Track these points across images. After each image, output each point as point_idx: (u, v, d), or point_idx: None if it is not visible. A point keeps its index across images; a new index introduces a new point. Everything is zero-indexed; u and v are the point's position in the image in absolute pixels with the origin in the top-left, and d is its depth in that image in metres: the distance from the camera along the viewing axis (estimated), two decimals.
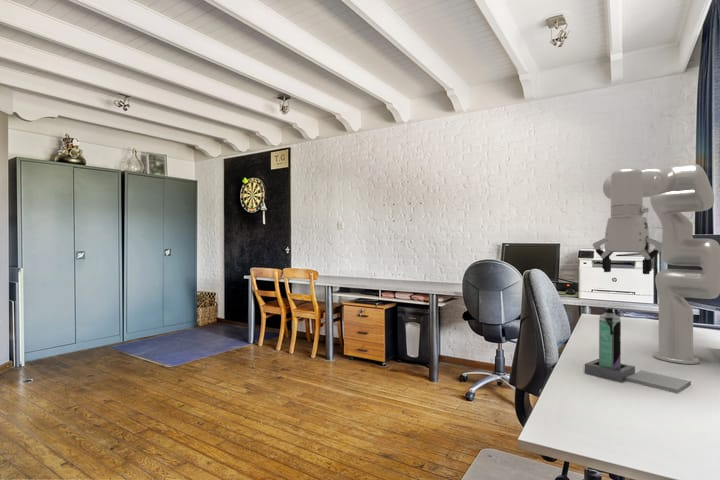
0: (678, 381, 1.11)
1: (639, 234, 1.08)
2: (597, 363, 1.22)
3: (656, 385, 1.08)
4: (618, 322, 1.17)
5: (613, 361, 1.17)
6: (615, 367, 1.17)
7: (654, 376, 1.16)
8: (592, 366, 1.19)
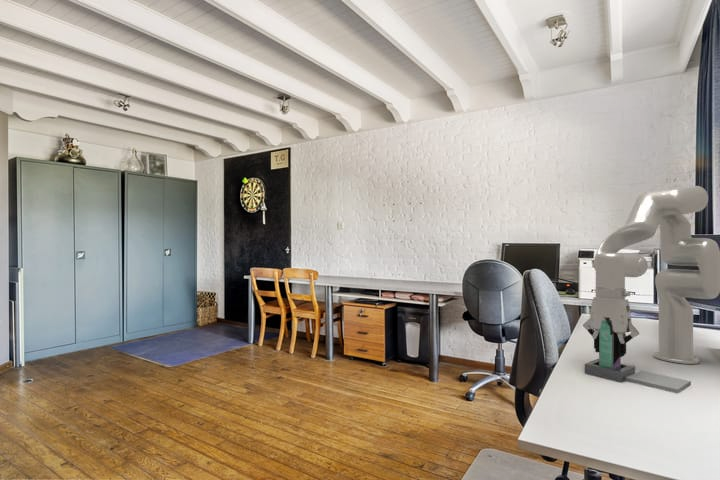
0: (678, 381, 1.11)
1: (621, 317, 1.15)
2: (597, 363, 1.22)
3: (656, 385, 1.08)
4: None
5: (613, 361, 1.17)
6: (615, 367, 1.17)
7: (654, 376, 1.16)
8: (592, 366, 1.19)
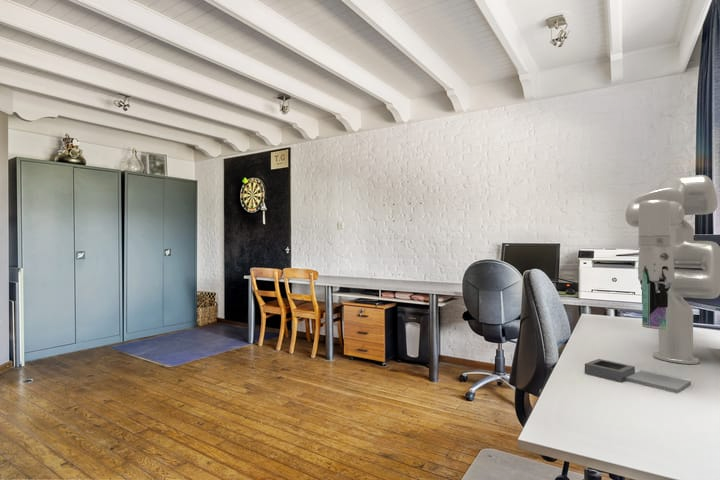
0: (678, 381, 1.11)
1: (654, 265, 1.11)
2: (597, 363, 1.22)
3: (656, 385, 1.08)
4: None
5: (650, 310, 1.13)
6: (652, 318, 1.12)
7: (654, 376, 1.16)
8: (592, 366, 1.19)
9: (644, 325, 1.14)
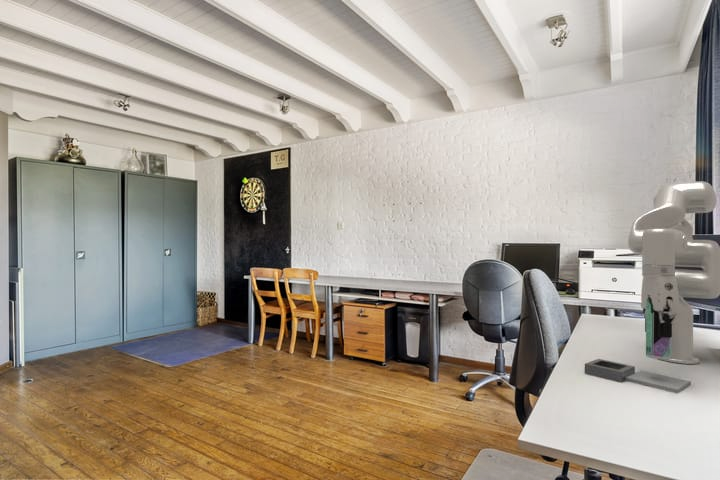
0: (678, 381, 1.11)
1: (658, 294, 1.10)
2: (597, 363, 1.22)
3: (656, 385, 1.08)
4: None
5: (654, 340, 1.12)
6: (656, 348, 1.11)
7: (654, 376, 1.16)
8: (592, 366, 1.19)
9: (648, 355, 1.13)
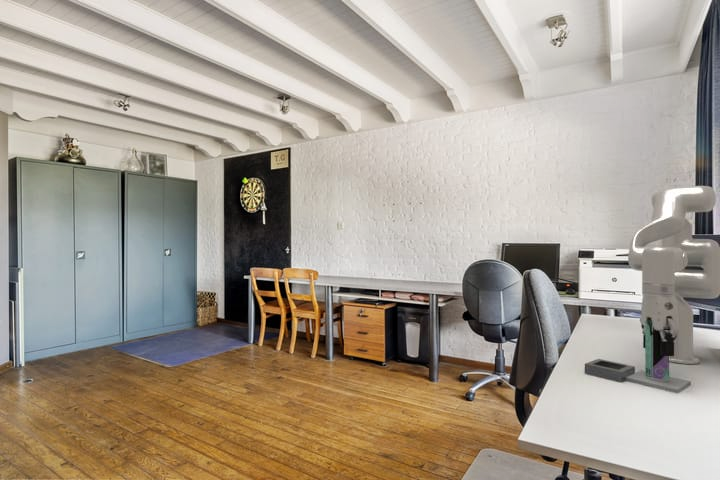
0: (678, 381, 1.11)
1: (658, 314, 1.10)
2: (597, 363, 1.22)
3: (656, 385, 1.08)
4: None
5: (653, 362, 1.12)
6: (656, 370, 1.11)
7: None
8: (592, 366, 1.19)
9: (647, 377, 1.13)
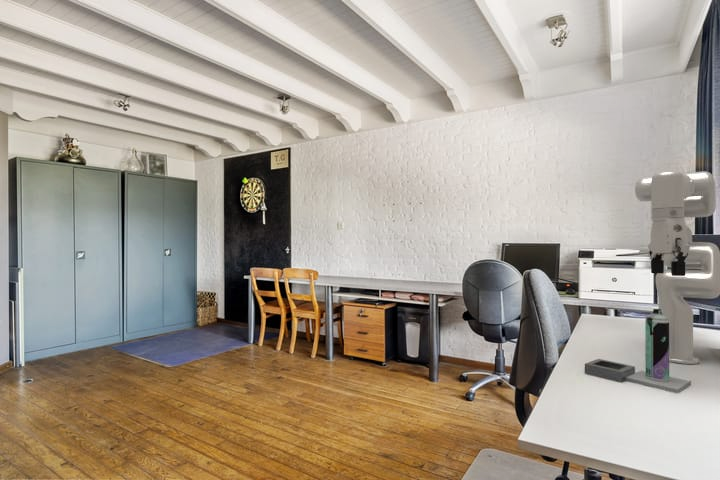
0: (678, 381, 1.11)
1: (667, 236, 1.11)
2: (597, 363, 1.22)
3: (656, 385, 1.08)
4: (660, 323, 1.11)
5: (653, 362, 1.12)
6: (656, 370, 1.11)
7: None
8: (592, 366, 1.19)
9: (647, 376, 1.13)
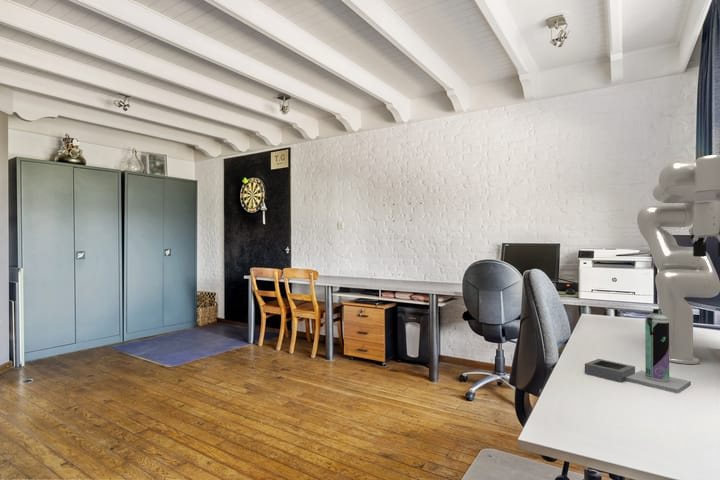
0: (678, 381, 1.11)
1: (713, 218, 1.12)
2: (597, 363, 1.22)
3: (656, 385, 1.08)
4: (659, 323, 1.11)
5: (653, 362, 1.12)
6: (656, 370, 1.11)
7: None
8: (592, 366, 1.19)
9: (647, 376, 1.13)
